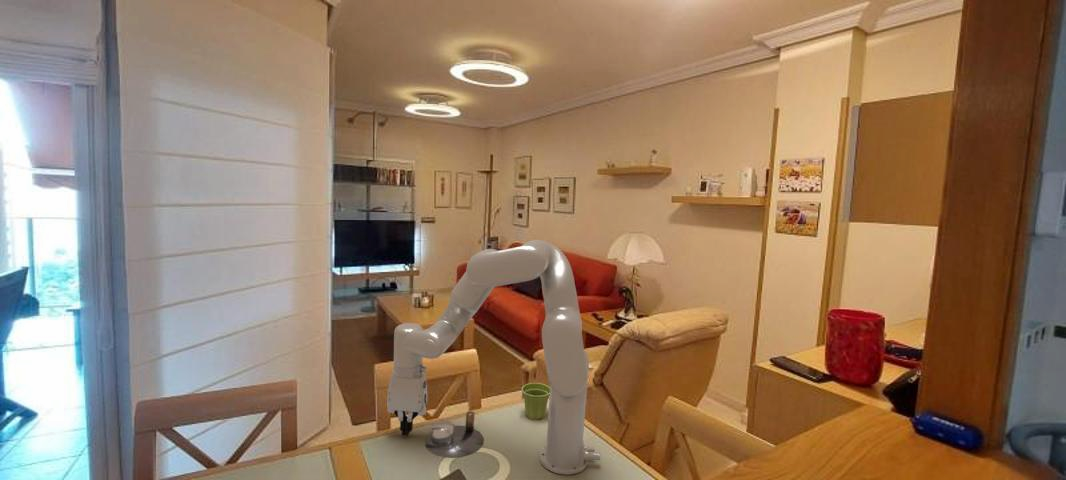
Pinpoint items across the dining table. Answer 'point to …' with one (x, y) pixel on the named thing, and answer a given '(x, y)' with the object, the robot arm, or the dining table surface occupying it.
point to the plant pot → (535, 399)
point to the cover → (442, 432)
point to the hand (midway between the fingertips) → (406, 432)
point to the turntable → (459, 441)
